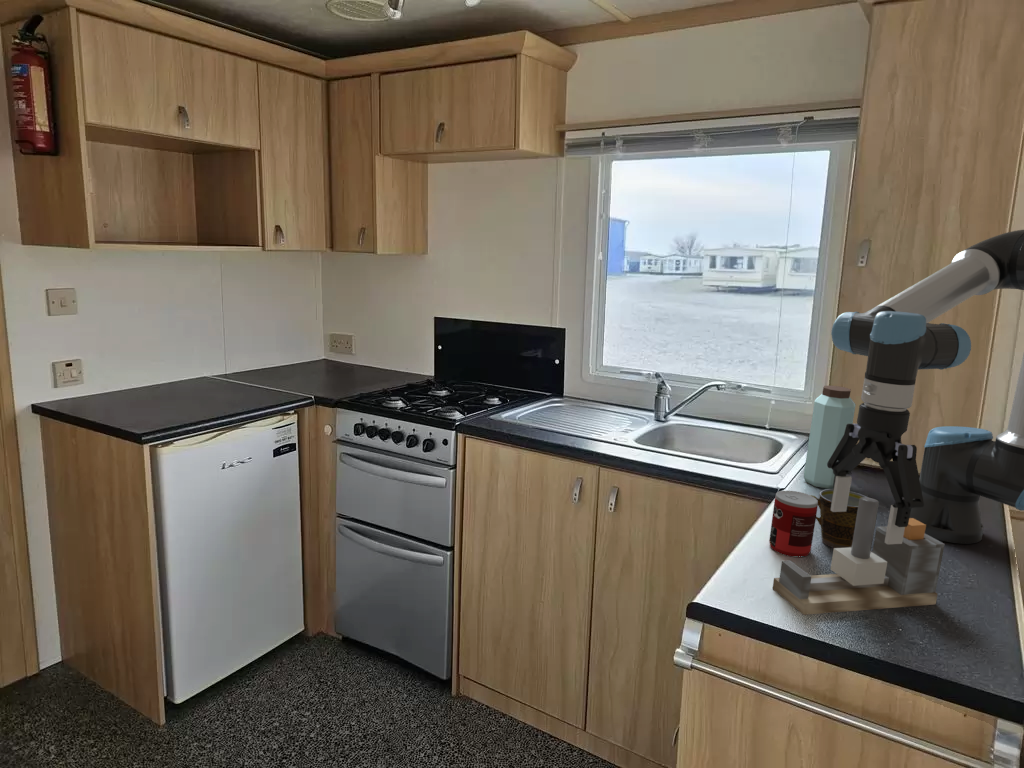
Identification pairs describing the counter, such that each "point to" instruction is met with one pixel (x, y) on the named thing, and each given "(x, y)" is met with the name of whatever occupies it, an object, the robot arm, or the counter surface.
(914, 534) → the button
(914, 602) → the rail stand
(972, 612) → the counter surface
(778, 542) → the canned food
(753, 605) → the counter surface
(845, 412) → the water bottle
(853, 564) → the carriage
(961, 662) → the counter surface
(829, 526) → the ceramic cup
